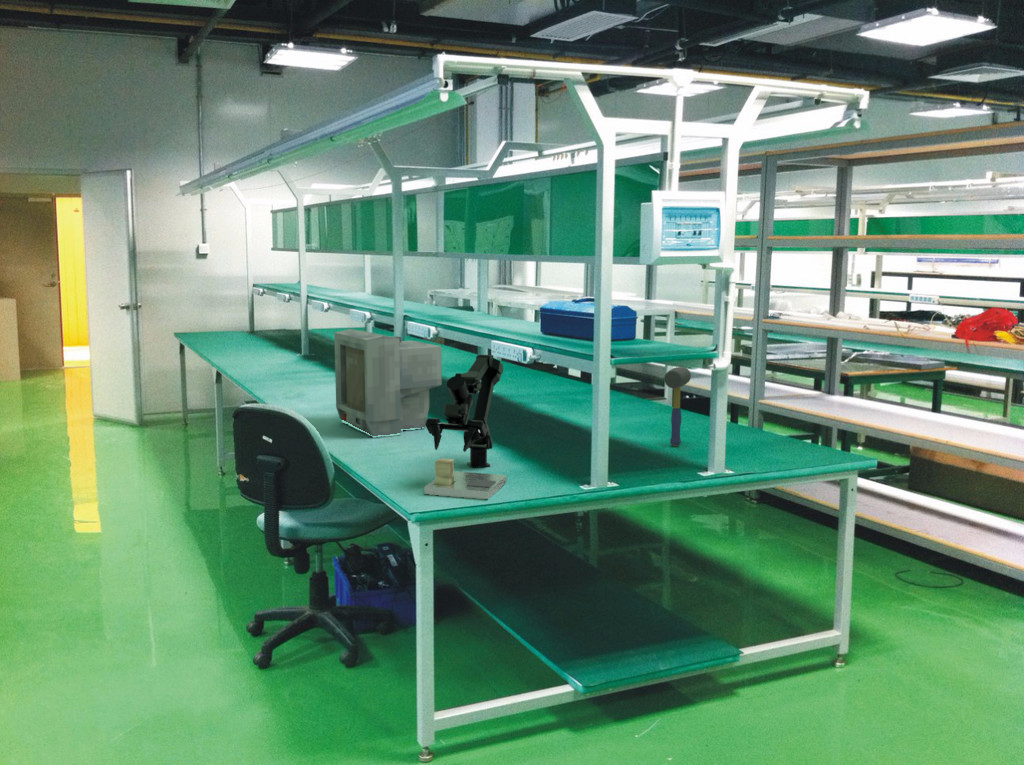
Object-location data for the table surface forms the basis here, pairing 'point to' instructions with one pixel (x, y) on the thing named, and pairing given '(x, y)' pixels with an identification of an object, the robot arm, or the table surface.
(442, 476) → the maple post
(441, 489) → the pocket plate
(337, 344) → the crt television
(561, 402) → the table surface
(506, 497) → the table surface
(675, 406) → the rubber mallet
